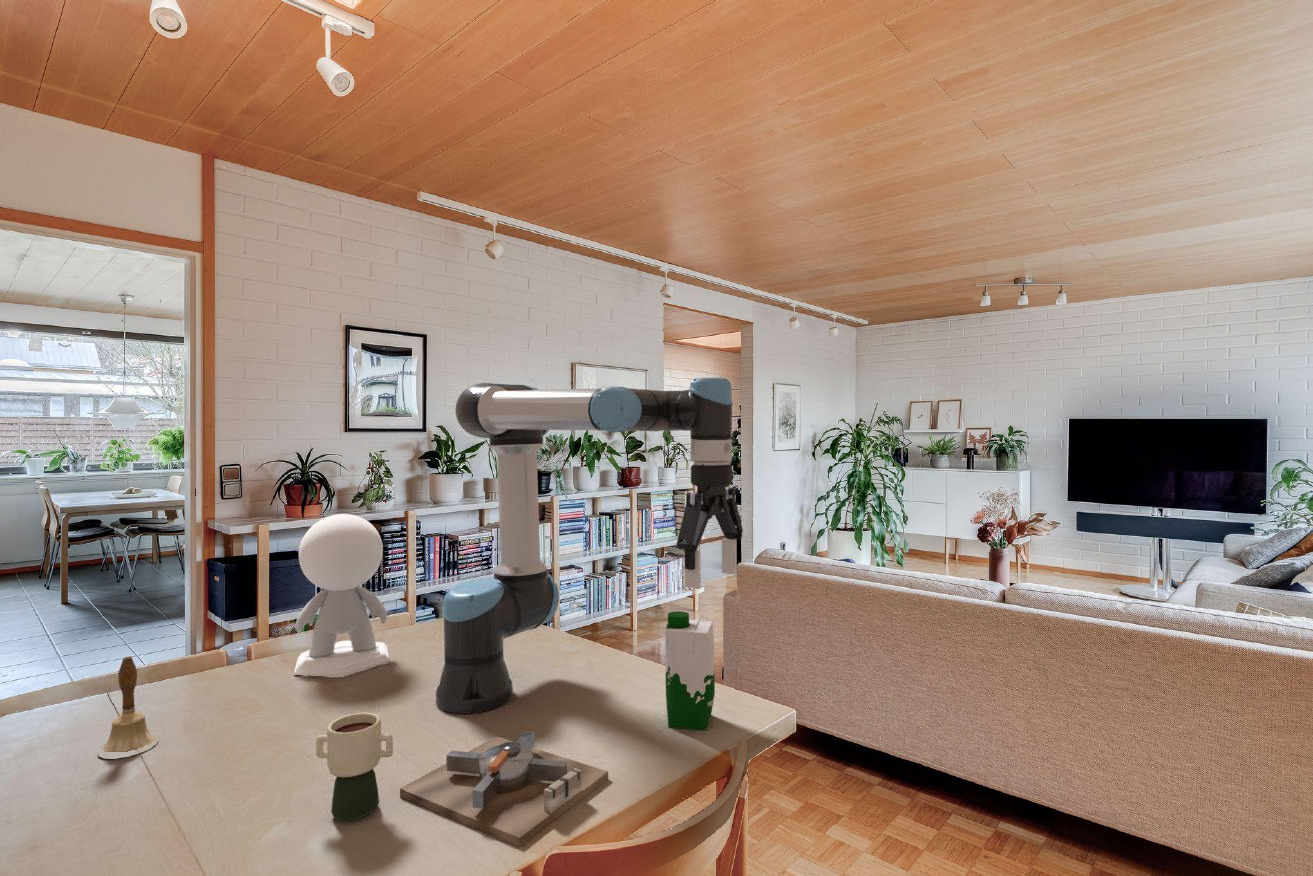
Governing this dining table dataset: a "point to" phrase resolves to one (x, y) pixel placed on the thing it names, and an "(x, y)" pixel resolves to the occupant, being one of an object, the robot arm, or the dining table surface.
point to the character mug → (354, 762)
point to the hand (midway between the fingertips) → (711, 580)
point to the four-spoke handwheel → (505, 768)
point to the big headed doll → (341, 597)
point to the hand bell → (128, 716)
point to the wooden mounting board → (505, 797)
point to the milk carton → (689, 671)
